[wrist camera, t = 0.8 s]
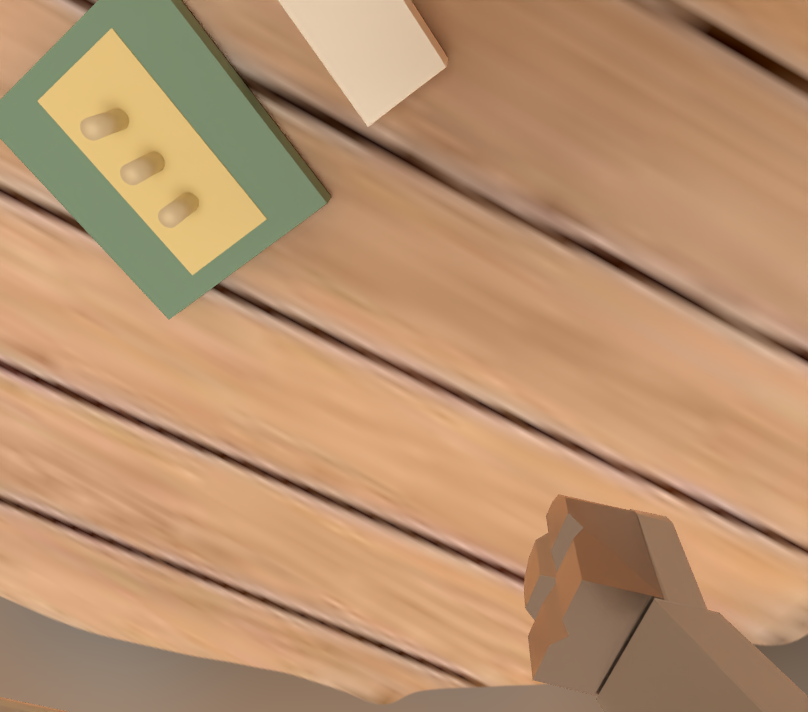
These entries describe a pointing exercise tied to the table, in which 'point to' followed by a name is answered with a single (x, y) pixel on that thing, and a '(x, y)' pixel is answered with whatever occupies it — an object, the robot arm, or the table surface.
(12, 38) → the table surface
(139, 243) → the header board
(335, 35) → the housing
